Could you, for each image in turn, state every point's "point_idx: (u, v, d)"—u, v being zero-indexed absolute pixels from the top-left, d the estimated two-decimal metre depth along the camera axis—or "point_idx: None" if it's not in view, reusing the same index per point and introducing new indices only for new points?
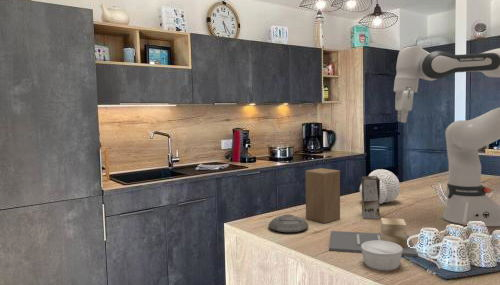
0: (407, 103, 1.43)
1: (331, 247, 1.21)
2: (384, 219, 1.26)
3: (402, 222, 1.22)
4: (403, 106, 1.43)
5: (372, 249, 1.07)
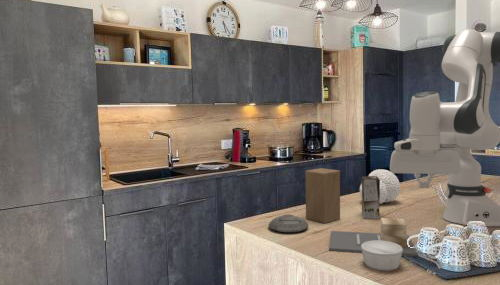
0: None
1: (331, 247, 1.21)
2: (384, 219, 1.26)
3: (402, 222, 1.22)
4: None
5: (372, 249, 1.07)
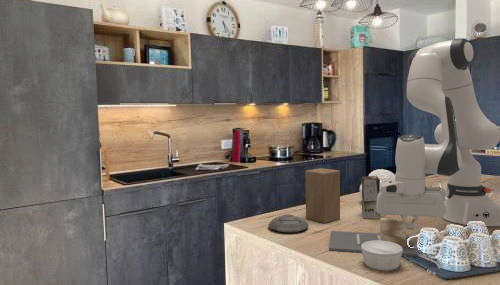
0: None
1: (331, 247, 1.21)
2: (383, 219, 1.26)
3: (402, 222, 1.22)
4: (444, 212, 1.18)
5: (372, 249, 1.07)
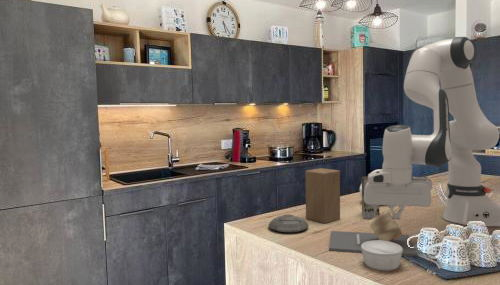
0: None
1: (331, 247, 1.21)
2: (372, 220, 1.27)
3: (387, 214, 1.23)
4: (431, 202, 1.19)
5: (372, 249, 1.07)
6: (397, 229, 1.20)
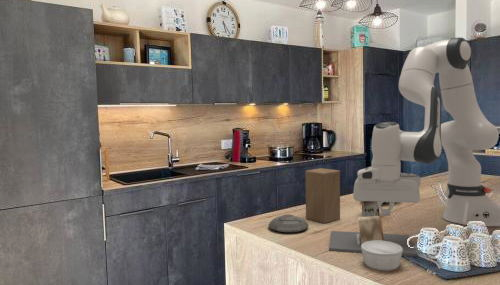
0: None
1: (331, 247, 1.21)
2: None
3: None
4: (419, 198, 1.19)
5: (372, 249, 1.07)
6: (374, 223, 1.21)
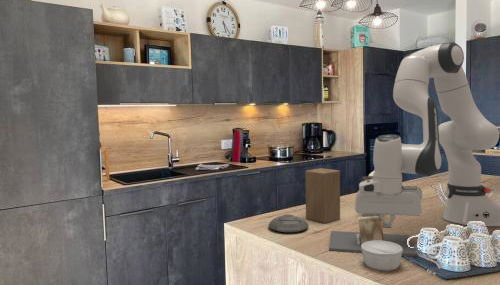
0: None
1: (331, 247, 1.21)
2: None
3: None
4: None
5: (372, 249, 1.07)
6: (374, 223, 1.21)
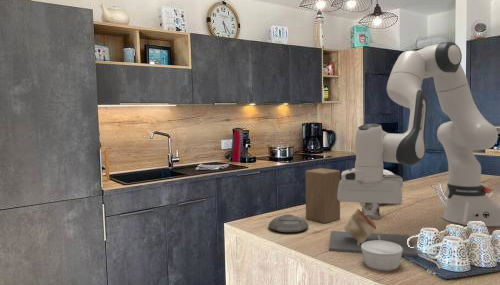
0: None
1: (331, 247, 1.21)
2: None
3: None
4: (401, 199, 1.21)
5: (372, 249, 1.07)
6: (355, 219, 1.23)
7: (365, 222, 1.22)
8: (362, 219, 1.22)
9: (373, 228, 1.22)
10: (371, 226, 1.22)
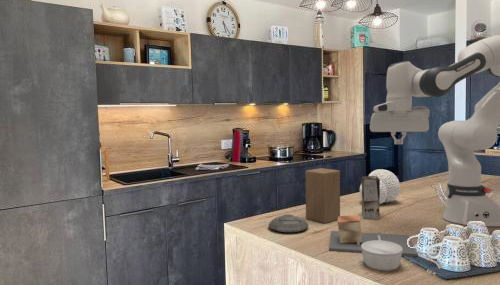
0: None
1: (331, 247, 1.21)
2: None
3: None
4: (428, 127, 1.37)
5: (372, 249, 1.07)
6: (340, 228, 1.24)
7: (348, 223, 1.23)
8: (344, 223, 1.24)
9: (358, 222, 1.23)
10: (355, 222, 1.23)
